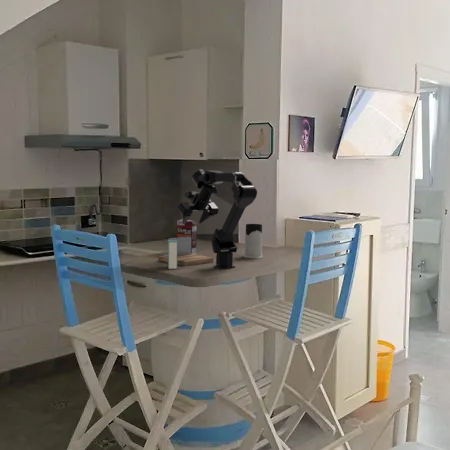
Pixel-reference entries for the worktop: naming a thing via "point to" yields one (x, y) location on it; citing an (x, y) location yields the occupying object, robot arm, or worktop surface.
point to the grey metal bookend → (182, 246)
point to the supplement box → (188, 232)
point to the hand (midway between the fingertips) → (191, 223)
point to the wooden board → (189, 259)
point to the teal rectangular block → (172, 254)
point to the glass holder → (253, 241)
